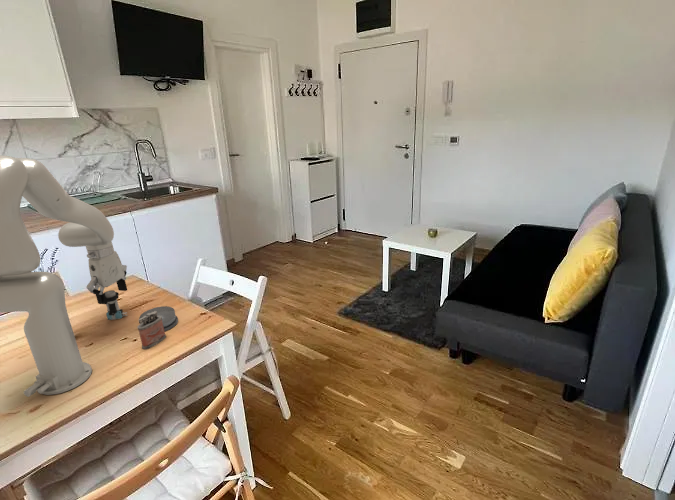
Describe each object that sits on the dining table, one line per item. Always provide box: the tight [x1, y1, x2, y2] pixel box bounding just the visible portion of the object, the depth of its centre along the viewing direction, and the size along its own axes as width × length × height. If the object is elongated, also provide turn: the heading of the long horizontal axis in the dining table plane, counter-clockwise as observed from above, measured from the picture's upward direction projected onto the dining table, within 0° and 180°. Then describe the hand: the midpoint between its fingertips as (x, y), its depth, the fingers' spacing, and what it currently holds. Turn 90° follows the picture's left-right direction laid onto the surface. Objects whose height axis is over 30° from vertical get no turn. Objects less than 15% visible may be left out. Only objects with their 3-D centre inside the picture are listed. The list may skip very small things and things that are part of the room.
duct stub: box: [138, 305, 179, 332], centre depth 130 cm, size 12×12×4 cm
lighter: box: [136, 311, 167, 350], centre depth 119 cm, size 8×3×10 cm, turn 154°
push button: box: [103, 289, 128, 321], centre depth 134 cm, size 7×5×10 cm
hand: (113, 296), depth 134 cm, fingers open, 9 cm apart
